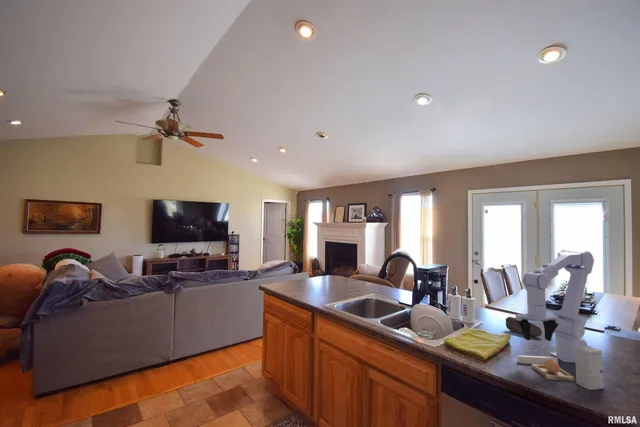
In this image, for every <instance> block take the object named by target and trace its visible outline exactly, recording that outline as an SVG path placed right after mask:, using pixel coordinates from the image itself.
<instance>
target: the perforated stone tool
mask: <svg viewBox="0 0 640 427" xmlns="http://www.w3.org/2000/svg"><path fill="white" fill-rule="evenodd" d="M528 322H529V323H531V324H532V325H531V328H530V337H534V338H535V337H541V336H542V335H543V331H542V329H541V327H539V326H538V325H536V324H534V323H533V322H530V321H528ZM505 327H506V328H507V330H509V331H511V332H514V333H515V334H516V333H518V334H521V335H524V334H523V331H522V329H521V327H520V325H519V323H518V321H517V319H516V317H512V316H508V317H506V318H505Z"/></svg>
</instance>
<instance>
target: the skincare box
mask: <svg viewBox="0 0 640 427" xmlns="http://www.w3.org/2000/svg"><path fill="white" fill-rule="evenodd" d="M602 352H603V351H602V350H601V349H597V348H596V347H592V346H589V345H587V346H580V347H575V359H576V363H575V375H576V376H575V377H576V378H575V380H576V384H577V385H578V386H580V387H582V388H585V389H587V390H588V391H592V390H601V389H604V371H603V356H602V355H603V353H602Z"/></svg>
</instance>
